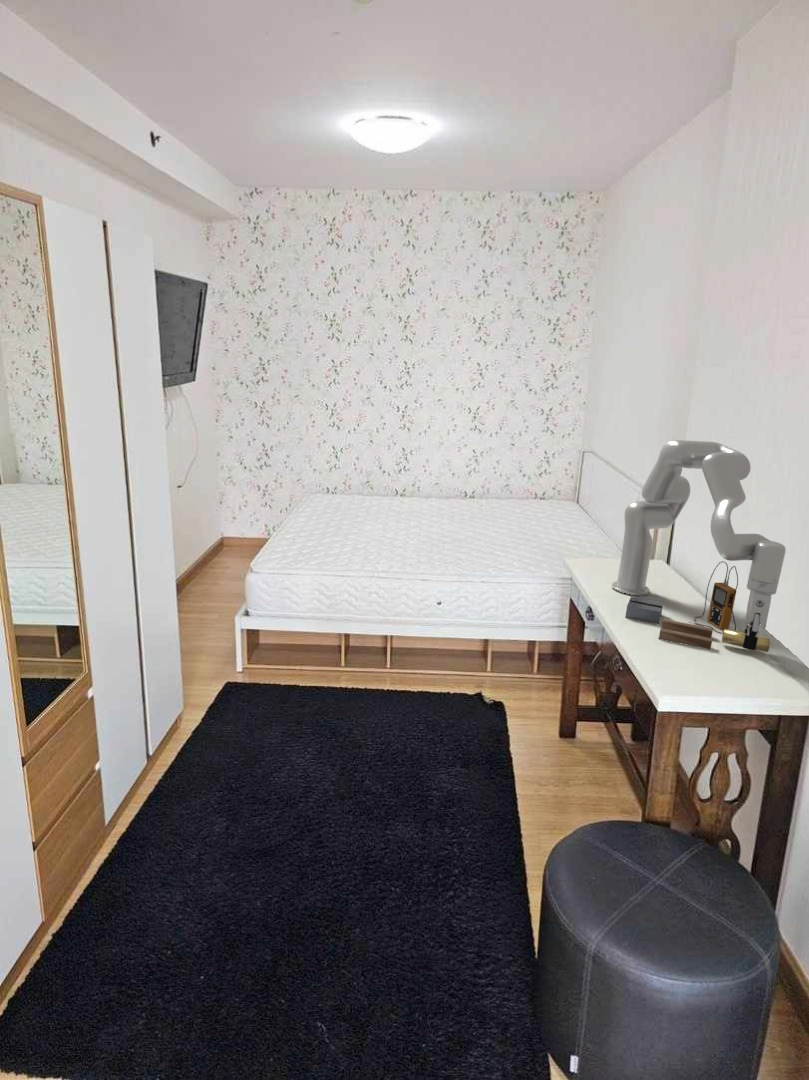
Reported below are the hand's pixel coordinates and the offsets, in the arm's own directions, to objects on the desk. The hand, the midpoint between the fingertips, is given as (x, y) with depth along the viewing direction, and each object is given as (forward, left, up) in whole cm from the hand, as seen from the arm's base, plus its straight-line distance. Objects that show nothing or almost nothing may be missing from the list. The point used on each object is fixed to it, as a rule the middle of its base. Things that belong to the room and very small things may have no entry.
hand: (748, 645), depth 205 cm
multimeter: (-14, -11, -2) cm, 18 cm away
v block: (-12, -30, -2) cm, 32 cm away
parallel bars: (0, -17, -2) cm, 17 cm away
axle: (0, -1, +1) cm, 2 cm away
